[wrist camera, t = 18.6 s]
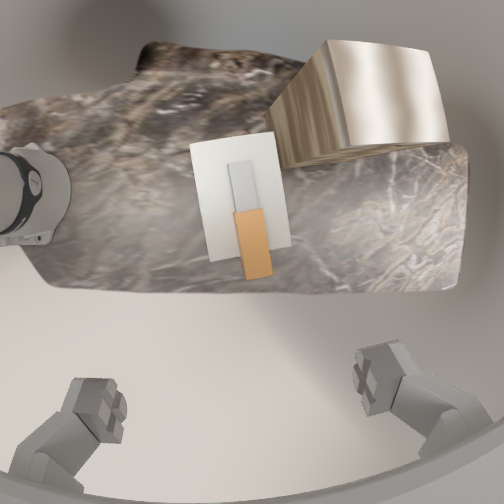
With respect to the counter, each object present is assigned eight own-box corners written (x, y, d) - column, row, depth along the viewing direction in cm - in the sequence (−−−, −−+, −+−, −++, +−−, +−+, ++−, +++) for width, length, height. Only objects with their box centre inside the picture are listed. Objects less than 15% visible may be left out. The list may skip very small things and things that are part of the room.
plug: (243, 274, 38) (247, 280, 35) (224, 165, 36) (225, 162, 33) (268, 269, 39) (273, 275, 36) (249, 161, 36) (253, 158, 33)
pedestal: (207, 243, 52) (210, 262, 37) (193, 159, 50) (189, 144, 35) (266, 232, 54) (292, 246, 39) (253, 149, 51) (273, 131, 36)
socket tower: (274, 170, 52) (350, 145, 24) (264, 113, 50) (326, 39, 22) (339, 162, 53) (449, 141, 26) (329, 109, 52) (428, 51, 24)
